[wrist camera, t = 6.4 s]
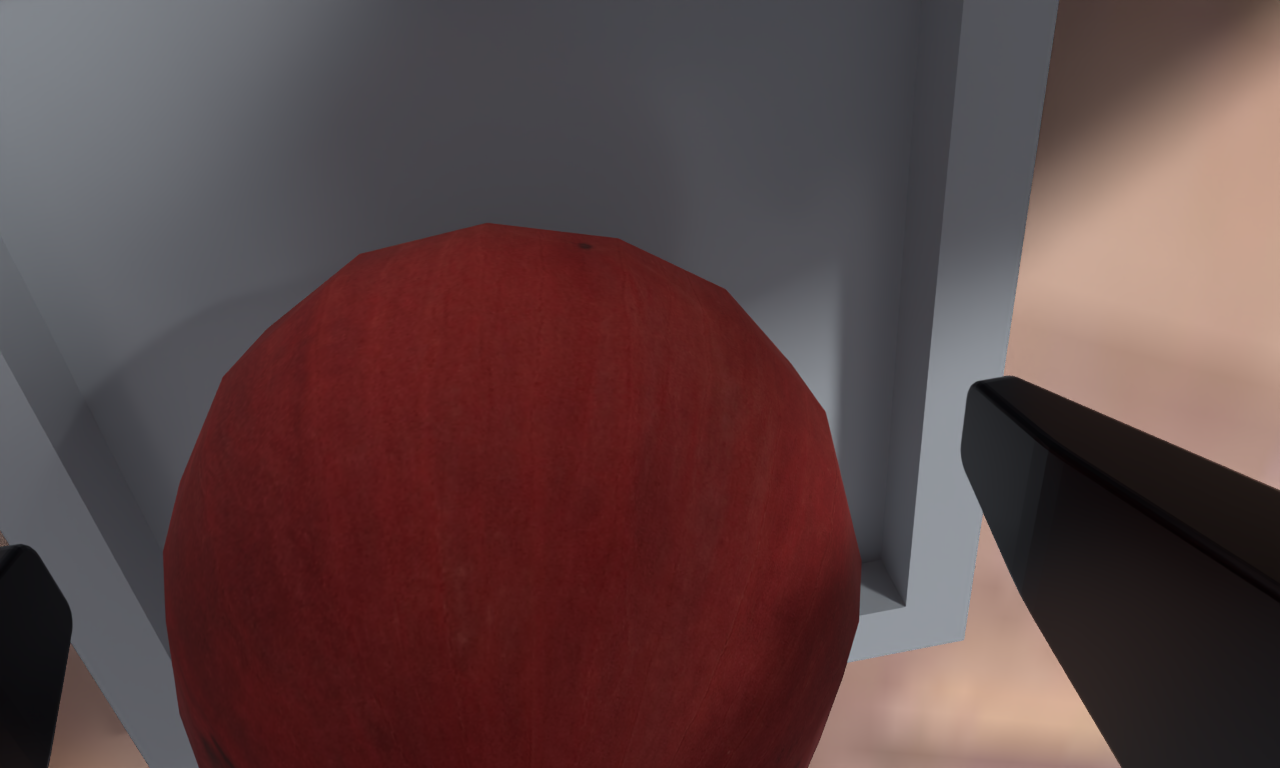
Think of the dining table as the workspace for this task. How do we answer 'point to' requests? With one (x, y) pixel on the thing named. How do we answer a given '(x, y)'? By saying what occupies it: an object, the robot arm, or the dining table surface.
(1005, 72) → the dish
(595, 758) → the onion
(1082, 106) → the dining table surface
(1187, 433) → the dining table surface
